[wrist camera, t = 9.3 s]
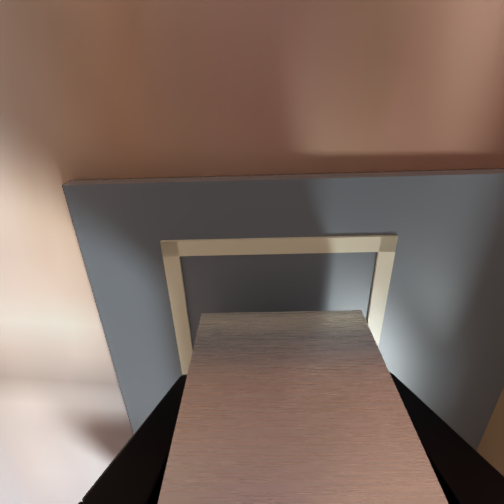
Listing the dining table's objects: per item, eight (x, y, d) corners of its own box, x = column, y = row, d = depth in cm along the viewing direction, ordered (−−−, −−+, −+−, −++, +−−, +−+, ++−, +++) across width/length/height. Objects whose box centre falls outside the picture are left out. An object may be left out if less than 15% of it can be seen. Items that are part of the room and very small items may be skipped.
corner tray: (634, 165, 10) (957, 241, 5) (479, 492, 17) (559, 640, 12) (70, 180, 10) (-78, 264, 6) (156, 494, 17) (121, 639, 13)
